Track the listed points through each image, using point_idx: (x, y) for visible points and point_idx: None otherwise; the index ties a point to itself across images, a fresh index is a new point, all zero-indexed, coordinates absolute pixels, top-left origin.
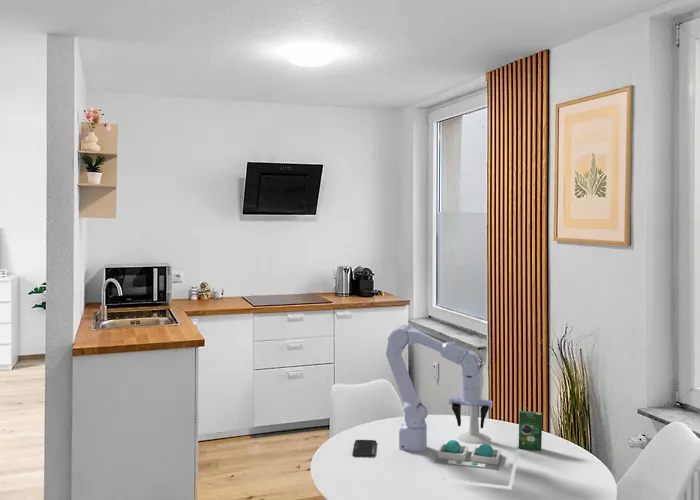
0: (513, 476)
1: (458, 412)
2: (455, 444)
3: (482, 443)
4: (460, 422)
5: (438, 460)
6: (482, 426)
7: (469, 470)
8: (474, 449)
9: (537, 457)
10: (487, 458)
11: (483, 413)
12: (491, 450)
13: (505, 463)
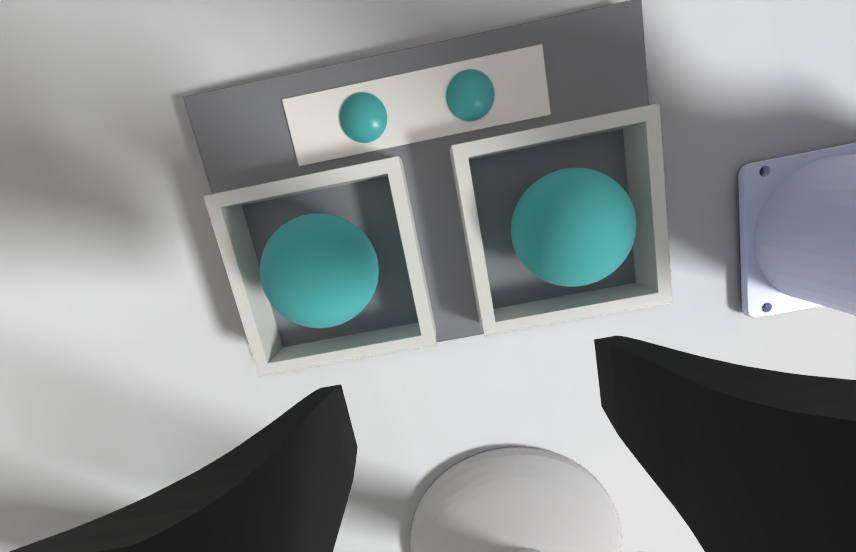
0: (96, 98)
1: (761, 399)
2: (554, 199)
3: (443, 495)
4: (615, 400)
5: (618, 63)
6: (308, 397)
7: (377, 54)
8: (419, 294)
9: (110, 457)
10: (279, 181)
11: (142, 513)
12: (261, 259)
13: (225, 287)
